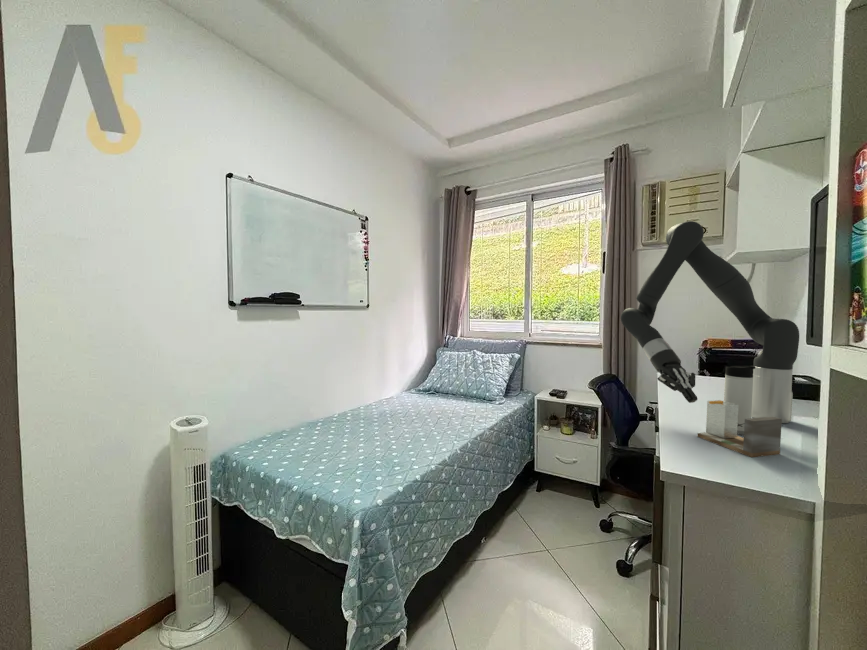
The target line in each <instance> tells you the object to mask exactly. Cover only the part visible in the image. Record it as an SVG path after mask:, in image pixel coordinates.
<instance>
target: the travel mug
mask: <svg viewBox="0 0 867 650" xmlns="http://www.w3.org/2000/svg"><path fill="white" fill-rule="evenodd" d="M753 369H755V366H754V365H729V366H725V373H724V376H725V377H724V389H723V390H724V391H723V401H725V402H729V403H733V404H737V405H738V425H737V435H738V436H739V435H740V436H744V423H745V419H747V418H752V416H751V413H752V393H753Z"/></svg>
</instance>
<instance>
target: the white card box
mask: <svg viewBox="0 0 867 650" xmlns="http://www.w3.org/2000/svg"><path fill="white" fill-rule="evenodd" d="M737 425H738V405H737V404H733V403H729V402H725V401H724V400H721V399H718V400H717V399H716V400H714V399H713V400H707V401H706V422H705V433H706V432H707V433H710V434H712V435H715V436H718V437H721V438H723V439H726V438H736V437H737V436H738V434H737Z"/></svg>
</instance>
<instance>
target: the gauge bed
mask: <svg viewBox="0 0 867 650" xmlns="http://www.w3.org/2000/svg"><path fill="white" fill-rule="evenodd" d="M782 424H783V423H782V419H780V418H776V417H773V416H772V417H759V418H753V417H751V418H747V419H745V423H744V435H743V437H741V436H739V435H737V437H736V438H726V439H723V438H721V437H718V436H715V435H712V434H710V433H707V432H706V431H705V432H704V431H703V432H697V435H696V436H697V437H698V438H701V439H702V440H705V441H708V442H710V443H713V444H716V445H719V446H721V447H723V448H726V449H729V450H731V451H733V452H736V453H739V454H742V455H744V456H747V457H749V458H759V457H767V456H776V455H780V454H781V441H782Z"/></svg>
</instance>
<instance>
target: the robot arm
mask: <svg viewBox="0 0 867 650" xmlns="http://www.w3.org/2000/svg"><path fill="white" fill-rule="evenodd" d="M665 235H666V236H665V242H666V244H667V248H666V251H665V252H664V255H663V256H662V257H661V260H660V261H659V262H658V264H657V265H656V266H655V268H654V269H653V270H652V272H651V273H650V274H649V276H648V277H647V278H646V280H645V281H644V283H643V285H642V286H641V288H640V289H639V292H638V294H637V295H636V297H635V299H636V301H637V302H638V303H639V306H638V308H634V307H628V308H625V309H624V310H623V311H622V312H621V314H620V321H621V324H622V326H623V327H624V328H625V329H626V330H627V332H628V333H630V334H631V336H632V337H634V338H635V339H636V340H637V342H638V344H639V345H640V346H641V348H642V350H643V351H644V354H645V355H646V357H647V359H648V360H649V361H650V363H651V364H652V367H654V369H655V370H656V372H657V373H659V374H660V375H659V376H658V377H657V378H656V379H657V381H659V382H660V383H662V384H663V385H664V386H666V387H668V388H669V389H671V390H673V391H674V392H676V391H678V392H679V393H681V395H682V396H683V398H685V400H686V401H687V402H688V403H690V404H691V403H695V402H697V401H698V399H699V398H698V396H697V394H695V392H694V390H692V389H693V388H695V387H696V374H695V373H694V372H691V373H690V372H688V371H686V369H685V368H684V367H683V366H682V360H681V359H680V357H679V356H678V355H677V353H676V352H675V350H674V349H673V348H672V347H671V345H670V344H669V343H668V342H667V341H666V340H665V338H664V337H663V336H662V335H661V333H660V332H659V331H658V330H657V329H656V327H653V326H652V325H651V324H652V322H653V320H654V317H655V314H656V311H657V306H658V304H659V302H660V300H661V298H662V297H663V296H664V294H665V292H666V290H667V288H668V287H669V285H670V284H671V282H672V280H673V278H674V277H675V275H676V274H677V272H678V271H679V269H680V268H681V266H682V265H683V264H684V263H685V262H686V263H688V265H689V266H690V267H691V268H692V269H693V271H694V272H695V273H696V275H697V276H698V277H699V278H700V279H701V281H702V282H703V283H704V284H705V285H706V287H707V288H708V289H709V290H710V291H711V292H712V293H713V294H714V296H715V297H716V298H717V299H719V301H720V302H721V303H722V304H723V305H724V306H725V307H726V309H728V310H729V312H730V313H732V314H733V316H734V317H735V318H736V319H737V321H738V322H739V323H740V324H741V326H742V327H743V328H744V330H745V331H746V333H747V335H748V336H749V337H750V338H751V339H752V340H753V341H754V343H757V344H759V345H761V346H762V352H761V354H759V355H758V356H755V357H754V359H753V366H755V369H753V393H752V413H751V418H759V417H772V416H773V417H776V418H780V419H782V424H789V423H790V422H791V421H792V415H793V414H792V413H793V397H794V396H793V395H794V394H793V391H792V387H793V386H792V385H793V367H794V364H795V362H796V361H797V358H798V352H799V343H800V329H799V327H798V326H797V324H796V323H795V322H794V321H792V320H790V319H785V318H775V317H774V318H773V317H771V316H769V314H767V312H765V311H764V309H762V308H761V307H760V306H759V304H758V303H757V300H756V299H755V295H754V292H753V289H752V286H751V284H750V282H749V281H748V280H747V278H745V276H743V274H742V273H741V272H740V271H739V270H738V269H737V268H736V267H735V266H734V265H732V264H731V263H730V262H728V261H727V260H725V259H724V258H722V257H721V256H720V255H718V254H716V253H714V252H713V251H712V250H711V249H710V248H709V247H708V246H707V245H706V244H705V243H704V241H703V237H704V235H705V230H704V228H703V226H702V225H701V224H700V223H699V222H697V221H692V220H688V221H683V222H680V223H677V224H675V225H673V226H671V227H670V228H669V229H668V230H667V232H666V234H665Z"/></svg>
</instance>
